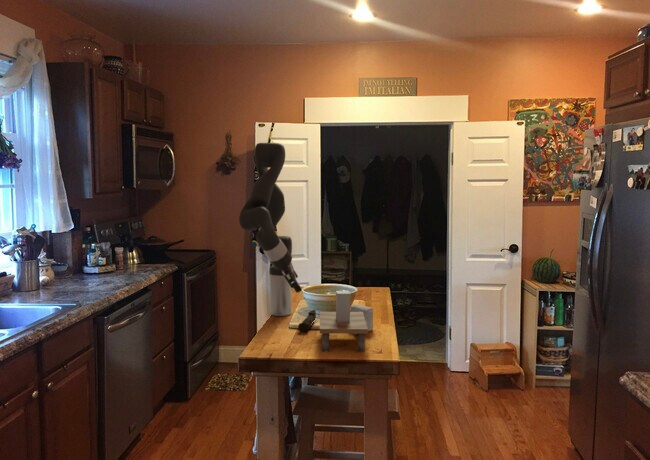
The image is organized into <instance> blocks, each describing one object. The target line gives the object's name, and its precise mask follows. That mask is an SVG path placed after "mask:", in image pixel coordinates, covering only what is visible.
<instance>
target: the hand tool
mask: <svg viewBox="0 0 650 460" xmlns="http://www.w3.org/2000/svg"><path fill="white" fill-rule="evenodd" d="M307 314H308V315H307V316H306V317H305V318H304V320H302V322H300V323H299V324H298V325H297V326H298V327H297V328H298V332H299V333H305V334H306V333H308V332H309V329H310V328H311V327H312V325H313V324H312V322H313V321H314V320H315V318H317V317H316V315H317V311H316V310H315V309H312V310H310V311H309V312H308V313H307ZM315 321H316V320H315ZM311 324H312V325H311Z"/></svg>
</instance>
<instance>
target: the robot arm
mask: <svg viewBox="0 0 650 460" xmlns="http://www.w3.org/2000/svg"><path fill="white" fill-rule="evenodd" d="M254 162H255V167H256V170H257V171H256V172H257V177H258V178H257V179H256V181H255V182H254V184H253V185H252V189H251V192H250V196H249V199H247V201H246V202H245V204H244V205H243V206H242V209H241V210H240V212H239V216H238V222H239V225H240V227H241V229H243V230H245V231H253V230H257V229H259V230H258V231H257V233H256V235H255V239H256V241H257V243H258V244H259V246H260V247H261V249H262V251H263V253H264V255H265V256H266V257H267V259H268V260H269V262H270V264H271V266H270V267H269V271H268V272H269V274H268V275H269V316H270V315H271V316H275V317H285V316H290V315H291V314H292V289H294V291H295V293H297V294H299V293H300V292H301V291H302V288H301V286H300V284H299V282H298V281H297V278H299V276H298V274H297V272H296V271H295V269H294V265H293V263H292V260H293V256H292V252H293V242H292V238H291V236H289V235H278V233H277V232H276V231H275V230H276V229H275V228H276V226H277V225H278V224H279V222H280V221H281V219H282V218H283V216H284V214H285V212H286V204H285V201H286V200H285V195H284V193H283V191H282V189H281V188H280V187H279V185H277V183H276V182H277V180H278V179H279V176H280V174H281V172H282V170H283V167H284V165H285V162H286V148H285V146H284V144H282V143H279V142H259V143H256V145H255V147H254Z"/></svg>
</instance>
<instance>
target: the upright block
mask: <svg viewBox="0 0 650 460" xmlns="http://www.w3.org/2000/svg"><path fill="white" fill-rule="evenodd" d="M335 312H336V320H337V322H350V312H351V292H350V291H349V290H335Z"/></svg>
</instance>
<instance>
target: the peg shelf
mask: <svg viewBox="0 0 650 460" xmlns="http://www.w3.org/2000/svg"><path fill="white" fill-rule="evenodd" d="M319 334H321V351H322V352H324V351H327V352H330V334H349V335H350V334H354V336H357V352H360V353H363V352H365V351H366V334H367V335H368V334H369V331H368V328H367V324H366V321H365V317H364V314H363V312H351V311H350V322H337V320H336V311H320V312H319Z"/></svg>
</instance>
